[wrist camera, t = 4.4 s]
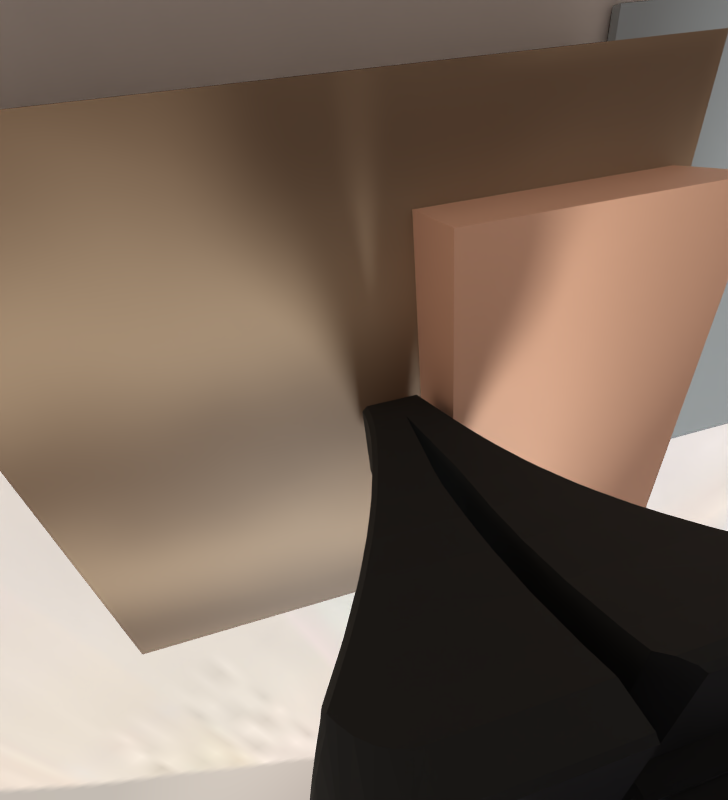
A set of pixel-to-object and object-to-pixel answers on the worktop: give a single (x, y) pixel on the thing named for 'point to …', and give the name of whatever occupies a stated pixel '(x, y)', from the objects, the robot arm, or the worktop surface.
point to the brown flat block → (266, 299)
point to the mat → (717, 148)
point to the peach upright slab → (573, 317)
